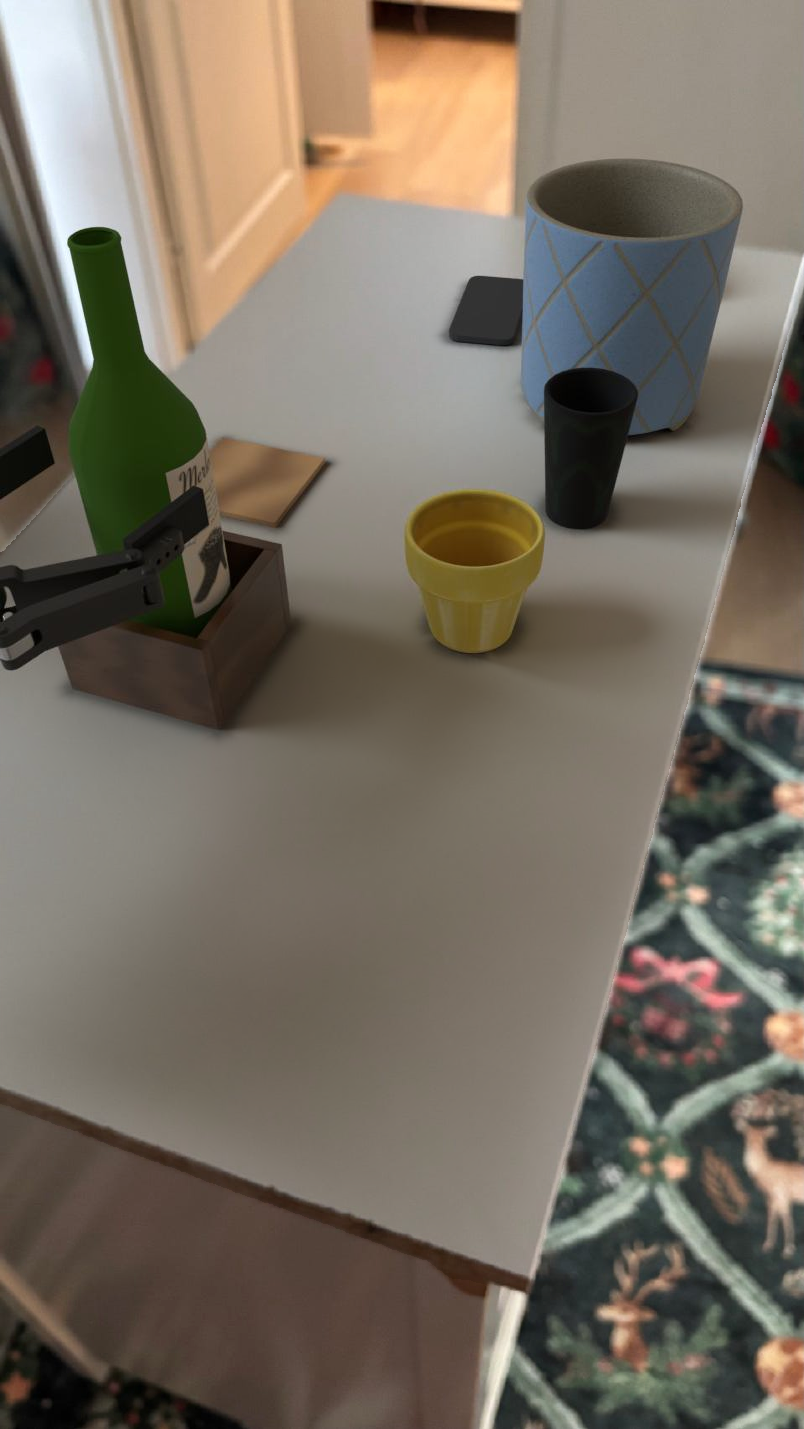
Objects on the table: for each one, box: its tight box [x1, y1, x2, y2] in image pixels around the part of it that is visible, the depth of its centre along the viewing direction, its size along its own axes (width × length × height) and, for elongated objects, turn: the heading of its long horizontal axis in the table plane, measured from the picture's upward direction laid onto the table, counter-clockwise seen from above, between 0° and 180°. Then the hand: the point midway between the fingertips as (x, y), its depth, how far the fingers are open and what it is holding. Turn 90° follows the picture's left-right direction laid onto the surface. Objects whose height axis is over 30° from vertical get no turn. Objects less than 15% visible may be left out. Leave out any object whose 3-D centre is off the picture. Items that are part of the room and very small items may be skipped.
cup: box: [543, 368, 638, 530], centre depth 93 cm, size 8×8×12 cm
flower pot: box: [404, 488, 546, 654], centre depth 83 cm, size 10×10×10 cm
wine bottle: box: [66, 226, 232, 638], centre depth 73 cm, size 9×9×32 cm
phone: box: [448, 275, 523, 346], centre depth 124 cm, size 7×1×15 cm
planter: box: [520, 158, 744, 436], centre depth 103 cm, size 19×19×20 cm
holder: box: [57, 530, 292, 731], centre depth 82 cm, size 13×13×8 cm
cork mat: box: [209, 437, 326, 528], centre depth 101 cm, size 11×11×1 cm
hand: (121, 473), depth 71 cm, fingers open, 13 cm apart
